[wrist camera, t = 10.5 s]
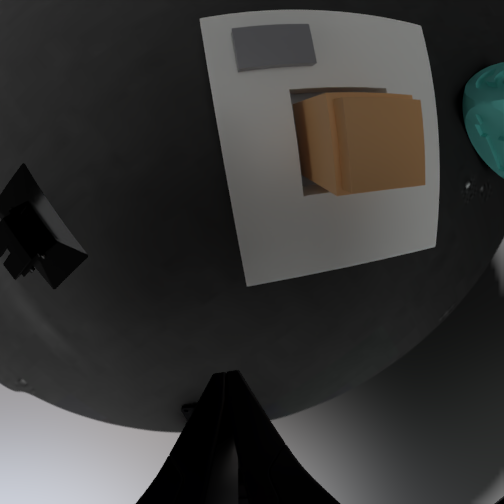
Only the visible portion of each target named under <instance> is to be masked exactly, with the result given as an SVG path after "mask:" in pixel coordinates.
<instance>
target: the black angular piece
mask: <svg viewBox="0 0 504 504" xmlns="http://www.w3.org/2000/svg"><path fill="white" fill-rule="evenodd" d="M0 218H1V221H0V257H1V256H2V255H3V254H4V252H5V251H6V249H8V250H9V251H10V255H9V256H8V258H7V259H6V261H5V262H4V266H5V267H6V269H7V270H8V271H9V273H10V274H11V275H12V277H13V278H14V279H15V280H16V279H17V278H18V277H19V276H20V275H21V274H22V275H23V276H25V275H26V274H27V273H28V272H29V271H30V272H31V273H32V272H33V271H34V270H35V268H34V267H36V269H37V270H38V271H39V272H40V274H41V275H42V276H43V277H44V278H45V280H46V281H47V282H48V283H49V284H50V286H51V287H52V288H53V289H56V288H57V287H58V286H59V285H60V284H61V283H62V282H63V281H64V280H65V279H66V278H67V277H68V276H69V275H70V274H71V273H72V272H73V271H74V270H75V269H76V268H77V267H78V266H79V265H80V264H81V263H82V262H83V261H84V260H85V259H86V258H87V257H88V254H87V253H86V252H85V251H84V249H83V248H82V247H81V245H80V244H79V243H78V242H77V240H76V239H75V238H74V236H73V235H72V234H71V232H70V231H69V230H68V228H67V227H66V226H65V224H64V223H63V221H62V220H61V219H60V217H59V216H58V214H57V213H56V212H55V210H54V209H53V207H52V206H51V204H50V203H49V201H48V200H47V198H46V197H45V195H44V194H43V192H42V191H41V189H40V188H39V186H38V185H37V183H36V181H35V180H34V178H33V177H32V175H31V173H30V172H29V170H28V168H27V167H26V165H25V164H24V163H23V164H22V165H21V166H20V168H19V169H18V170H17V172H16V173H15V174H14V176H13V177H12V179H11V180H10V181H9V183H8V184H7V186H6V187H5V189H4V190H3V192H2V193H1V195H0Z"/></svg>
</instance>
